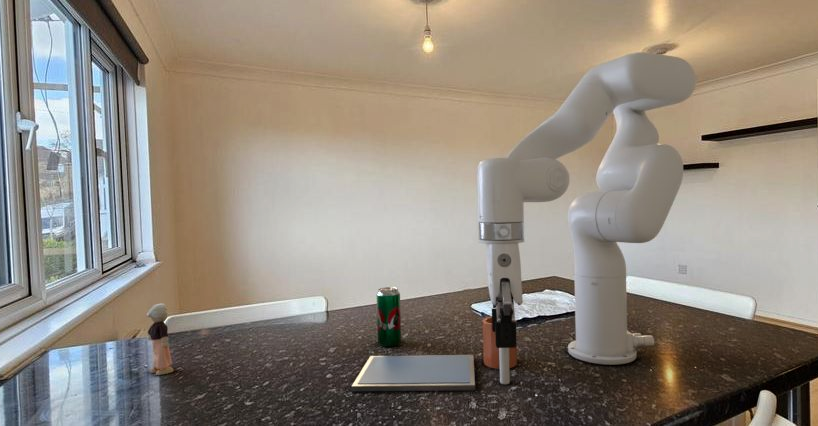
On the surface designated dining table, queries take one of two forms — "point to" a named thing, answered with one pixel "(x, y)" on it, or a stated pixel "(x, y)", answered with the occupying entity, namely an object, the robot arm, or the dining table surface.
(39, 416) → the dining table surface
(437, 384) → the tablet
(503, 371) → the stylus
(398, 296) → the soda can
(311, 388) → the dining table surface
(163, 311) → the grandmother figurine
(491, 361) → the pen cup
